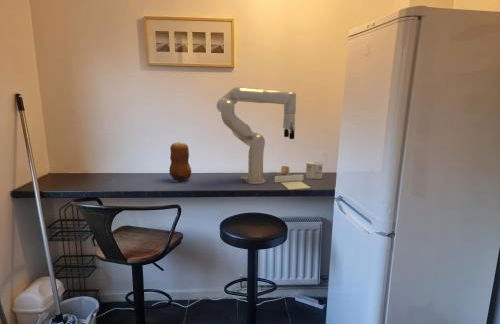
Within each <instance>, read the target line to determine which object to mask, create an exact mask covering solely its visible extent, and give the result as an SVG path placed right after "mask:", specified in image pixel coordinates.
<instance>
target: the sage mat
mask: <svg viewBox="0 0 500 324" xmlns="http://www.w3.org/2000/svg"><path fill="white" fill-rule="evenodd" d="M280 184H281V185H282V186H284V188H286V189H288V190H289V191H290V190H291V191H292V190H305V189H311V187H310V186H309V185H307V184H306V183H304V182H303V181H288V182H280Z"/></svg>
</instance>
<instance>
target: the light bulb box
mask: <svg viewBox="0 0 500 324" xmlns="http://www.w3.org/2000/svg"><path fill="white" fill-rule="evenodd" d="M305 165H306V167H305V178H306V180H309V179H310V180H322V179H323V162H321V161H306V163H305Z"/></svg>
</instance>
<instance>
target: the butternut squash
mask: <svg viewBox="0 0 500 324" xmlns="http://www.w3.org/2000/svg"><path fill="white" fill-rule="evenodd" d="M169 148H170V157H169V158H170V166H169V171H168V172H169V175H170V176H171V178H172V180H175V181H179V182H184V181H186V180H188V179H190V178H191V176H192V168H191V166H190V165H191V164H190V163H189V156H190V153H189V151H190V150H189V146H188V144H187V143H184V142H173V143H172V144H171V145H170V147H169Z"/></svg>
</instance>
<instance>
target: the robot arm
mask: <svg viewBox="0 0 500 324" xmlns="http://www.w3.org/2000/svg"><path fill="white" fill-rule="evenodd" d="M238 102H243V103H254V104H255V103H256V104H276V105H277V104H278V105H283V121H282V122H283V125H282V127H283V138H289V140H294V139H295V130H296V116H295V115H296V114H297V113H296V111H297V110H296V106H297V105H296V104H297V94H296V92H294V91H293V92H292V91H289V92H286V91H281V90H280V91H279V90H269V89H263V88H253V87H245V86H238V87H233V88H232V89H230V90H229V91H228V92H227V93H226V94H224V95H223V96H222V97H221V98H219V99H218V100H217V102H216V109H217V111H218V112H220V113H221V114H220V115H221V119H222V122H223V124H224V125H225V126H226V127H227V128H228V129H230V131H231V132H232V134H233V136H235V138H237V139H238V140H240V141H241V142H243V143H244V144H245V145H246V146H249V149H248V155H247V156H248V159H247V160H248V169H247V171H248V172H247V174H246V175H243V176H240V179H241V180H244V181H245V182H246V183H247V184H250V185H262V184H265V183H266V179H264V151H265V147H266V145H265V144H266V142H265V141H266V140H265V137H264V136H263V135H262V134H261V133H257V132H254V131H253V130H252V129H251V127H250V126H249V124H247V123H245V121H243V120H242V119H240V118H239V117H238V116H237V115H236V112H235V108H236V107H235V105H236V104H237V103H238Z"/></svg>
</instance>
